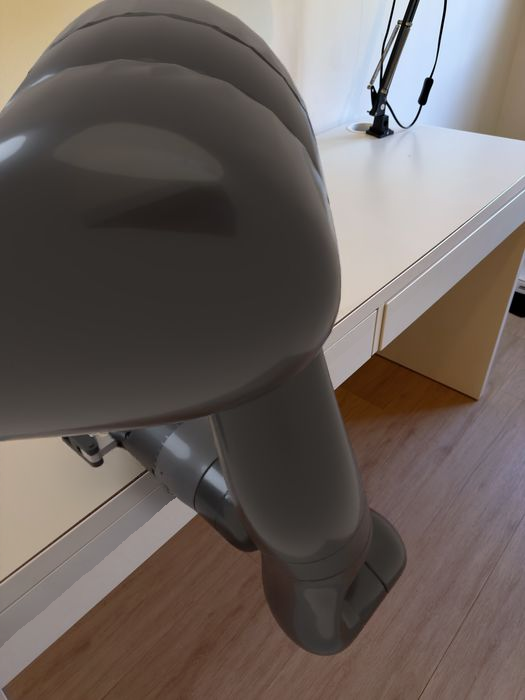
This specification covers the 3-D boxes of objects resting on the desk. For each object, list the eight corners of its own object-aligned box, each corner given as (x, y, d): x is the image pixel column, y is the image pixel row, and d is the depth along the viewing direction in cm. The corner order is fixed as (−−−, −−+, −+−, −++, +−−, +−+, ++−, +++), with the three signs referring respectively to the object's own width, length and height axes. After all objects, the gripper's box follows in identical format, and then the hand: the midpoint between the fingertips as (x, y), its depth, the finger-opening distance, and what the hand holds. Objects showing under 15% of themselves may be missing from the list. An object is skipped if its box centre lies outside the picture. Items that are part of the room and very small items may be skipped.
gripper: (247, 381, 49) (145, 314, 58) (115, 473, 41) (22, 378, 50) (251, 436, 53) (156, 365, 63) (134, 527, 46) (46, 431, 55)
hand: (97, 371), depth 56 cm, fingers open, 8 cm apart
